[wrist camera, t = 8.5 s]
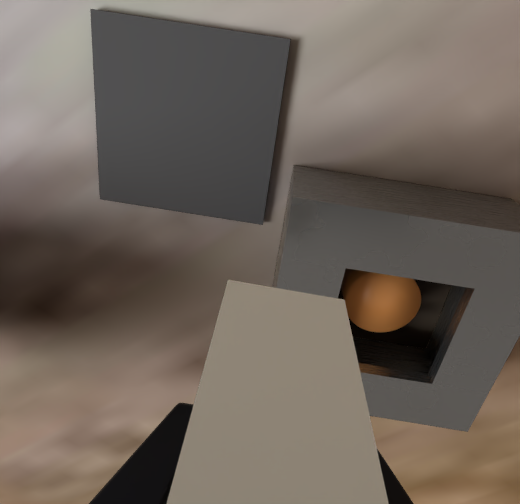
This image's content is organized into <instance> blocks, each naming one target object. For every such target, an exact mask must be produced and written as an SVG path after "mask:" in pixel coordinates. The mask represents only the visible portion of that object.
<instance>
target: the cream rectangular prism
mask: <svg viewBox="0 0 520 504" xmlns="http://www.w3.org/2000/svg"><path fill="white" fill-rule="evenodd" d="M167 504H389V503H388V498H387V494H386V489H385V485H384V480H383V475H382V471H381V466H380V461H379V457H378V452H377V448H376V443H375V438H374V434H373V429H372V424H371V420H370V415H369V410H368V406H367V401H366V397H365V392H364V387H363V383H362V378H361V373H360V369H359V364H358V360H357V355H356V350H355V346H354V341H353V336H352V332H351V327H350V322H349V318H348V313H347V309H346V304H345V300H344V299H338V298H332V297H326V296H320V295H315V294H309V293H303V292H297V291H291V290H285V289H280V288H274V287H268V286H262V285H256V284H251V283H245V282H239V281H233V280H228V281H227V285H226V289H225V292H224V296H223V300H222V303H221V307H220V311H219V314H218V318H217V322H216V325H215V329H214V332H213V336H212V340H211V343H210V347H209V351H208V354H207V358H206V362H205V365H204V369H203V373H202V376H201V380H200V383H199V387H198V391H197V394H196V398H195V402H194V405H193V409H192V413H191V416H190V420H189V424H188V427H187V431H186V435H185V438H184V442H183V445H182V449H181V453H180V456H179V460H178V464H177V467H176V471H175V475H174V478H173V482H172V486H171V489H170V493H169V496H168V500H167Z"/></svg>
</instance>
